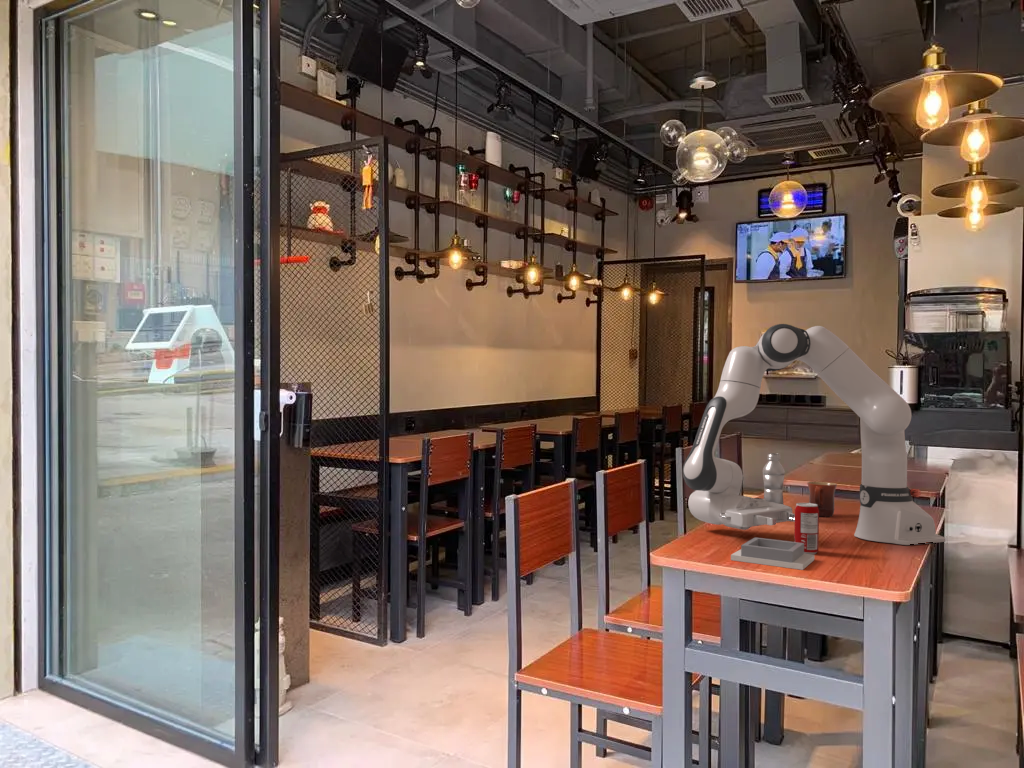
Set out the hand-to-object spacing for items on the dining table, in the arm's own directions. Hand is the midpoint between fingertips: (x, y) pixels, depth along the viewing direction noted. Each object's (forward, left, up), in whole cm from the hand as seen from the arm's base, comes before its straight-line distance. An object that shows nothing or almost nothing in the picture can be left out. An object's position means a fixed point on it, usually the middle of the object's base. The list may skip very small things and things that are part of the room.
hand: (786, 520), depth 193 cm
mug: (-37, -43, -7) cm, 57 cm away
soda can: (-2, +5, -7) cm, 9 cm away
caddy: (+11, +12, -7) cm, 18 cm away
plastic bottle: (-19, -40, -7) cm, 45 cm away
